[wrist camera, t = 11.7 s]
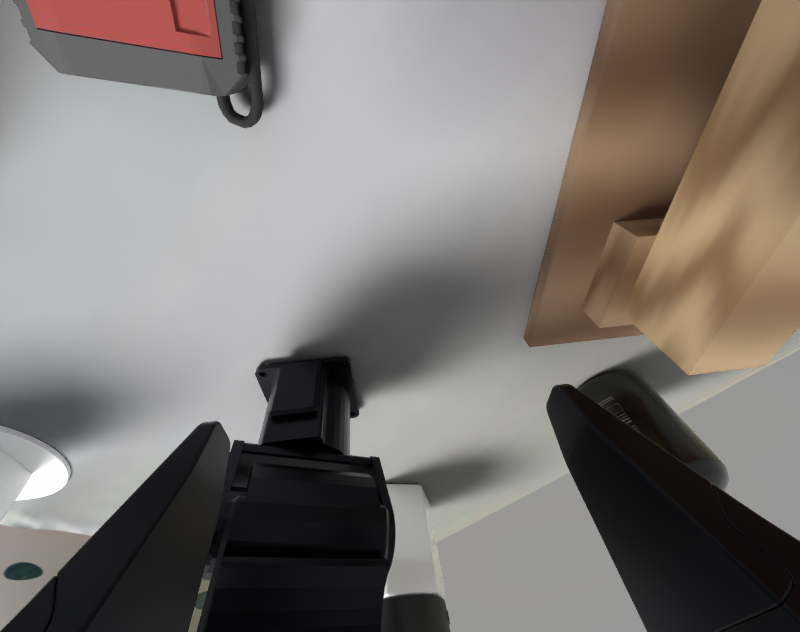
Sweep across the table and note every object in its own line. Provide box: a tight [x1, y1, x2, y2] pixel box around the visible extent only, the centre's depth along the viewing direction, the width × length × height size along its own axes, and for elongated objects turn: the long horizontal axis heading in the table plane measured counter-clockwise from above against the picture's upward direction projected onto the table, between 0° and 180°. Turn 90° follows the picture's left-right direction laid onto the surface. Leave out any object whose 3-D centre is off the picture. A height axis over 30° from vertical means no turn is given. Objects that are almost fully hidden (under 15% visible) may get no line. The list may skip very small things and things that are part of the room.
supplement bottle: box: [578, 371, 728, 492], centre depth 25 cm, size 7×7×12 cm
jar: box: [381, 484, 450, 632], centre depth 33 cm, size 9×8×12 cm
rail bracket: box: [524, 0, 762, 347], centre depth 13 cm, size 30×12×6 cm, turn 2°
